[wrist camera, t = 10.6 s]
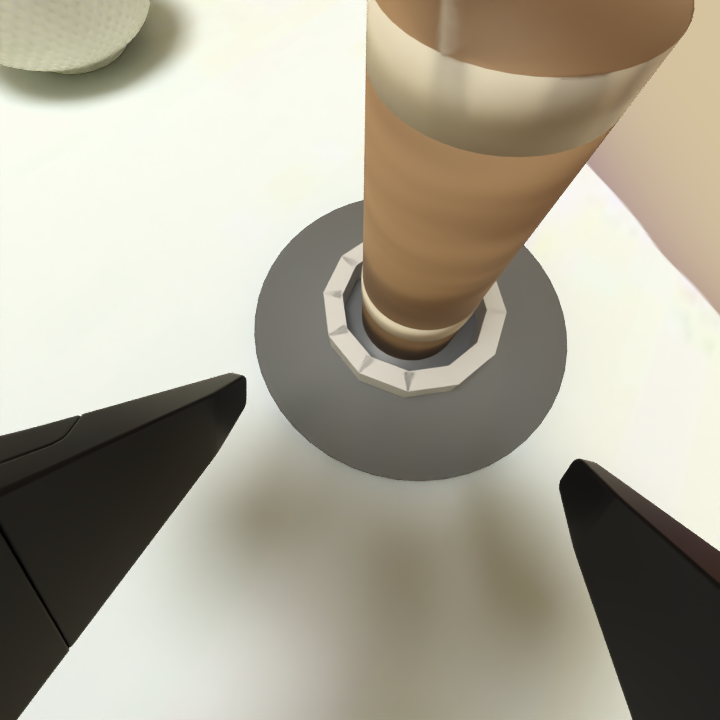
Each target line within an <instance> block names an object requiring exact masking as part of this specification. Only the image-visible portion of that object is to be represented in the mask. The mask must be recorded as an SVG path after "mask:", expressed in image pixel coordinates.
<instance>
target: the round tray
mask: <svg viewBox="0 0 720 720" xmlns="http://www.w3.org/2000/svg"><path fill="white" fill-rule="evenodd" d="M363 219H364V200H362V201H359V202H355V203H351V204H349V205H346V206H343V207H341V208H338V209H336V210H334V211H332V212H330V213H328V214H326V215H324V216H322V217H320V218H319V219H317V220H316V221H314V222H313V223H312V224H310V225H309V226H307V227H306V228H305V229H303V230H302V231H301V232H300V233H299V234H298V235H297V236H295V237H294V238H293V239H292V240H291V241H290V243H289V244H288V245H287V246H286V247H285V248H284V249H283V251H282V252H281V253H280V255H279V256H278V258H277V259H276V261H275V262H274V264H273V265H272V267H271V269H270V271H269V273H268V275H267V277H266V279H265V281H264V283H263V286H262V289H261V292H260V295H259V298H258V304H257V309H256V315H255V334H254V336H255V345H256V354H257V358H258V362H259V366H260V370H261V373H262V376H263V378H264V381H265V383H266V385H267V388H268V390H269V392H270V394H271V396H272V397H273V399H274V401H275V402H276V404H277V406H278V407H279V409H280V411H281V412H282V413H283V414H284V416H285V417H286V418H287V419H288V420H289V422H290V423H291V424H292V425H293V427H294V428H295V429H296V430H297V431H299V432H300V433H301V434H302V435H303V436H304V437H305V438H306V439H307V440H308V441H309V442H310V443H312V444H313V445H315V446H316V447H317V448H319V449H320V450H322V451H323V452H325V453H326V454H327V455H329V456H331V457H332V458H334V459H336V460H338V461H340V462H342V463H344V464H346V465H348V466H350V467H353V468H356V469H358V470H361V471H364V472H367V473H370V474H373V475H377V476H382V477H387V478H392V479H397V480H415V481H426V480H438V479H447V478H451V477H456V476H460V475H464V474H468V473H471V472H473V471H476V470H479V469H481V468H484V467H486V466H489V465H491V464H492V463H494V462H496V461H498V460H499V459H501V458H503V457H505V456H506V455H508V454H509V453H511V452H512V451H513V450H514V449H516V448H517V447H518V446H519V445H521V444H522V443H523V442H524V441H526V440H527V439H528V437H529V436H530V435H531V434H532V433H533V432H534V431H535V430H536V429H537V428H538V426H539V425H540V424H541V423H542V421H543V420H544V418H545V416H546V415H547V413H548V412H549V410H550V409H551V407H552V405H553V403H554V401H555V398H556V396H557V394H558V392H559V389H560V386H561V382H562V379H563V375H564V372H565V365H566V356H567V334H566V327H565V321H564V315H563V312H562V308H561V305H560V302H559V299H558V296H557V294H556V292H555V290H554V288H553V285H552V283H551V281H550V279H549V278H548V276H547V274H546V273H545V271H544V270H543V268H542V267H541V265H540V264H539V262H538V261H537V260H536V259H535V258H534V256H533V255H532V254H531V253H530V251H529V250H528V249H527V248H526V247H525V246H524V245H523V246H522V248H521V249H520V250H519V252H518V253H517V254H516V255H515V257H514V258H513V259H512V261H511V262H510V263H509V265H508V266H507V267H506V269H505V270H504V271H503V273H502V274H501V275H500V276H499V278H498V279H497V280H496V282H495V283H494V284H493V286H492V287H491V288H490V290H489V291H488V292H487V294H486V295H485V296H484V297H483V299H482V300H481V302H480V304H479V305H478V307H477V309H476V310H475V311H474V312H473V314H472V315H471V316H470V318H469V319H468V320H467V321H466V323H465V324H464V325H463V326H462V327H461V328H460V329H459V330H458V332H457V333H456V334H455V336H454V337H453V338H452V339H451V341H450V342H449V343H448V345H447V346H446V347H445V348H444V349H443V350H442V351H440V352H439V353H437V354H436V355H433V356H431V357H429V358H426V359H422V360H413V361H411V360H402V359H397V358H394V357H392V356H389V355H387V354H385V353H384V352H382V351H381V350H379V349H378V348H377V347H376V346H375V345H374V344H373V343H372V342H371V340H370V339H369V338H368V336H367V334H366V332H365V329H364V326H363V322H362V291H361V276H362V266H363Z"/></svg>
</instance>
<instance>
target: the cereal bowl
mask: <svg viewBox="0 0 720 720" xmlns="http://www.w3.org/2000/svg"><path fill="white" fill-rule="evenodd" d="M149 7H150V0H0V64H2V65H4V66H10V67H13V68H16V69H23V70H31V71H43V72H46V71H52V72H57V73H62V74H82V73H87V72H91V71H95V70H98V69H100V68H102V67H105V66H106V65H108V64H110V63H111V62H113V61H114V60H116V59H117V58H118V57H119V56H120V55H121V54H122V53H123V51H124V50H125V48H126V46H127V44H128V43H130V42H131V40H132V39H133V38H134V37H135V36H136V34H137V33H138V32H139V31H140V29H141V27H142V26H143V24H144V21H145V20H146V17H147V14H148V12H149Z"/></svg>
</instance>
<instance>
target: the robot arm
mask: <svg viewBox="0 0 720 720" xmlns="http://www.w3.org/2000/svg"><path fill="white" fill-rule="evenodd" d="M245 405H246V378H245V377H244V376H243V375H239V374H235V373H228V374H224V375H221V376H217V377H214V378H210V379H206V380H203V381H199V382H196V383H192V384H189V385H185V386H181V387H178V388H174V389H171V390H167V391H164V392H160V393H156V394H153V395H149V396H146V397H142V398H139V399H135V400H131V401H128V402H124V403H121V404H117V405H114V406H110V407H106V408H103V409H99V410H96V411H92V412H89V413H85V414H82V415H81V416H74V417H70V418H67V419H63V420H60V421H56V422H52V423H49V424H45V425H41V426H37V427H34V428H30V429H26V430H23V431H18V432H14V433H10V434H6V435H2V436H0V720H17V719H18V718H19V716H20V715H21V714H22V712H23V711H24V710H25V708H26V707H27V706H28V704H29V703H30V702H31V700H32V699H33V698H34V696H35V695H36V694H37V692H38V691H39V690H40V688H41V687H42V686H43V684H44V683H45V682H46V680H47V679H48V678H49V676H50V675H51V674H52V673H53V671H54V670H55V669H56V667H57V666H58V665H59V663H60V662H61V661H62V659H63V658H64V657H65V655H66V654H67V653H68V651H69V647H71V646H72V645H73V644H74V643H75V642H76V640H77V639H78V638H79V636H80V635H81V634H82V632H83V631H84V630H85V628H86V627H87V626H88V624H89V623H90V622H91V620H92V619H93V618H94V616H95V615H96V614H97V612H98V611H99V610H100V608H101V607H102V606H103V604H104V603H105V602H106V600H107V599H108V598H109V596H110V595H111V594H112V592H113V591H114V590H115V588H116V587H117V586H118V584H119V583H120V582H121V580H122V579H123V578H124V577H125V575H126V574H127V573H128V571H129V570H130V569H131V567H132V566H133V565H134V563H135V562H136V561H137V559H138V558H139V557H140V555H141V554H142V553H143V551H144V550H145V549H146V547H147V546H148V545H149V543H150V542H151V541H152V539H153V538H154V537H155V535H156V534H157V533H158V531H159V530H160V529H161V527H162V526H163V525H164V523H165V522H166V521H167V519H168V518H169V517H170V515H171V514H172V513H173V512H174V510H175V509H176V508H177V506H178V505H179V504H180V502H181V501H182V500H183V498H184V497H185V496H186V494H187V493H188V492H189V490H190V489H191V488H192V486H193V485H194V484H195V482H196V481H197V480H198V478H199V477H200V476H201V474H202V473H203V472H204V470H205V469H206V468H207V466H208V465H209V464H210V462H211V461H212V460H213V458H214V457H215V456H216V454H217V453H218V451H219V450H220V448H221V446H222V445H223V443H224V441H225V440H226V438H227V436H228V435H229V433H230V431H231V430H232V428H233V426H234V425H235V423H236V421H237V420H238V418H239V416H240V415H241V413H242V411H243V409H244V407H245ZM559 490H560V494H561V499H562V503H563V507H564V511H565V515H566V519H567V524H568V528H569V532H570V536H571V540H572V544H573V548H574V551H575V554H576V557H577V560H578V563H579V566H580V569H581V572H582V575H583V578H584V581H585V583H586V586H587V589H588V592H589V595H590V598H591V601H592V604H593V607H594V610H595V612H596V615H597V618H598V621H599V624H600V627H601V630H602V633H603V636H604V639H605V641H606V644H607V647H608V650H609V653H610V656H611V659H612V662H613V665H614V668H615V670H616V673H617V676H618V679H619V682H620V685H621V688H622V691H623V694H624V696H625V699H626V702H627V705H628V708H629V711H630V714H631V717H632V720H720V551H718V550H717V549H715V548H714V547H713V546H711V545H710V544H709V543H707V542H706V541H704V540H703V539H702V538H700V537H699V536H697V535H696V534H695V533H693V532H692V531H690V530H689V529H688V528H686V527H685V526H683V525H682V524H681V523H679V522H678V521H676V520H675V519H674V518H672V517H671V516H669V515H668V514H667V513H665V512H664V511H662V510H661V509H660V508H658V507H657V506H655V505H654V504H653V503H651V502H650V501H649V500H647V499H646V498H644V497H643V496H642V495H640V494H639V493H637V492H636V491H635V490H633V489H632V488H630V487H629V486H628V485H626V484H625V483H623V482H622V481H621V480H619V479H618V478H616V477H615V476H614V475H612V474H611V473H609V472H608V471H607V470H605V469H604V468H602V467H601V466H600V465H598V464H597V463H595V462H591V461H587V460H583V459H576V460H574V461H573V462H572V464H571V465H570V467H569V468H568V470H567V471H566V473H565V474H564V476H563V477H562V478H561V480H560V484H559Z"/></svg>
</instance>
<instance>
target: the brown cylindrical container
mask: <svg viewBox="0 0 720 720" xmlns="http://www.w3.org/2000/svg"><path fill="white" fill-rule="evenodd" d="M693 12H694V0H367V30H366V93H365V156H364V219H363V266H362V276H361V291H362V322H363V326H364V329H365V332H366V334H367V336H368V338H369V339H370V340H371V342H372V343H373V344H374V345H375V346H376V347H377V348H378V349H379V350H381V351H382V352H384V353H385V354H387V355H389V356H392V357H394V358H397V359H402V360H411V361H413V360H422V359H426V358H429V357H431V356H433V355H436V354H437V353H439V352H440V351H442V350H443V349H444V348H445V347H446V346H447V345H448V343H449V342H450V341H451V339H452V338H453V337H454V336H455V334H456V333H457V332H458V330H459V329H460V328H461V327H462V326H463V325H464V324H465V323H466V321H467V320H468V319H469V318H470V316H471V315H472V314H473V312H474V311H475V310H476V309H477V307H478V305H479V304H480V302H481V300H482V299H483V297H484V296H485V295H486V294H487V292H488V291H489V290H490V288H491V287H492V286H493V284H494V283H495V282H496V280H497V279H498V278H499V276H500V275H501V274H502V273H503V271H504V270H505V269H506V267H507V266H508V265H509V263H510V262H511V261H512V259H513V258H514V257H515V255H516V254H517V253H518V252H519V250H520V249H521V248H522V246H523V245H524V244H525V242H526V241H527V240H528V238H529V237H530V236H531V234H532V233H533V232H534V231H535V229H536V228H537V227H538V225H539V224H540V223H541V221H542V220H543V219H544V217H545V216H546V215H547V213H548V212H549V211H550V210H551V208H552V207H553V206H554V204H555V203H556V202H557V200H558V199H559V198H560V196H561V195H562V194H563V192H564V191H565V190H566V189H567V187H568V186H569V185H570V183H571V182H572V181H573V179H574V178H575V177H576V175H577V174H578V173H579V171H580V170H581V169H582V168H583V166H584V165H585V164H586V162H587V161H588V160H589V158H590V157H591V155H592V154H593V153H594V152H595V150H596V149H597V148H598V147H599V145H600V144H601V143H602V141H603V140H604V139H605V137H606V136H607V135H608V133H609V132H610V131H611V129H612V128H613V127H614V126H615V124H616V123H617V122H618V120H619V119H620V117H621V116H622V115H623V114H624V112H625V111H626V110H627V108H628V107H629V106H630V105H631V103H632V102H633V101H634V99H635V98H636V97H637V95H638V94H639V93H640V91H641V90H642V89H643V87H644V86H645V85H646V83H647V82H648V81H649V80H650V78H651V77H652V75H653V74H654V73H655V72H656V70H657V69H658V68H659V66H660V65H661V64H662V62H663V61H664V60H665V58H666V57H667V56H668V55H669V53H670V52H671V51H672V49H673V48H674V47H675V45H676V44H677V43H678V41H679V40H680V39H681V38H682V36H683V35H684V33H685V32H686V30H687V29H688V27H689V25H690V23H691V21H692V17H693Z"/></svg>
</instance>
